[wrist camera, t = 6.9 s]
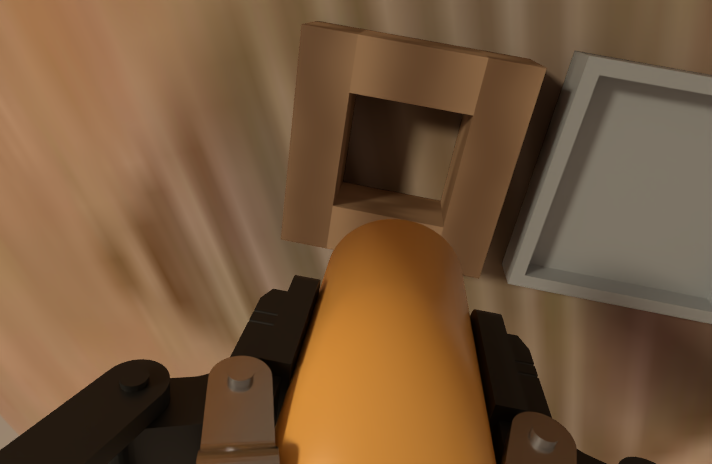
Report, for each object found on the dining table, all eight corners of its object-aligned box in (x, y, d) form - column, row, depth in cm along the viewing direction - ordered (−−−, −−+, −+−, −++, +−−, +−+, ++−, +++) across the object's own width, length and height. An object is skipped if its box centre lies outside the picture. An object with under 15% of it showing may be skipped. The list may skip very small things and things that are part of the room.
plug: (478, 233, 15) (581, 603, 6) (444, 345, 17) (481, 752, 8) (336, 207, 15) (216, 527, 6) (319, 321, 17) (210, 693, 8)
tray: (830, 96, 25) (869, 105, 23) (706, 304, 32) (728, 327, 29) (574, 50, 26) (589, 55, 24) (501, 263, 32) (507, 283, 30)
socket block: (529, 58, 26) (546, 68, 23) (472, 247, 32) (479, 278, 28) (317, 21, 27) (301, 24, 23) (296, 212, 32) (280, 239, 29)
